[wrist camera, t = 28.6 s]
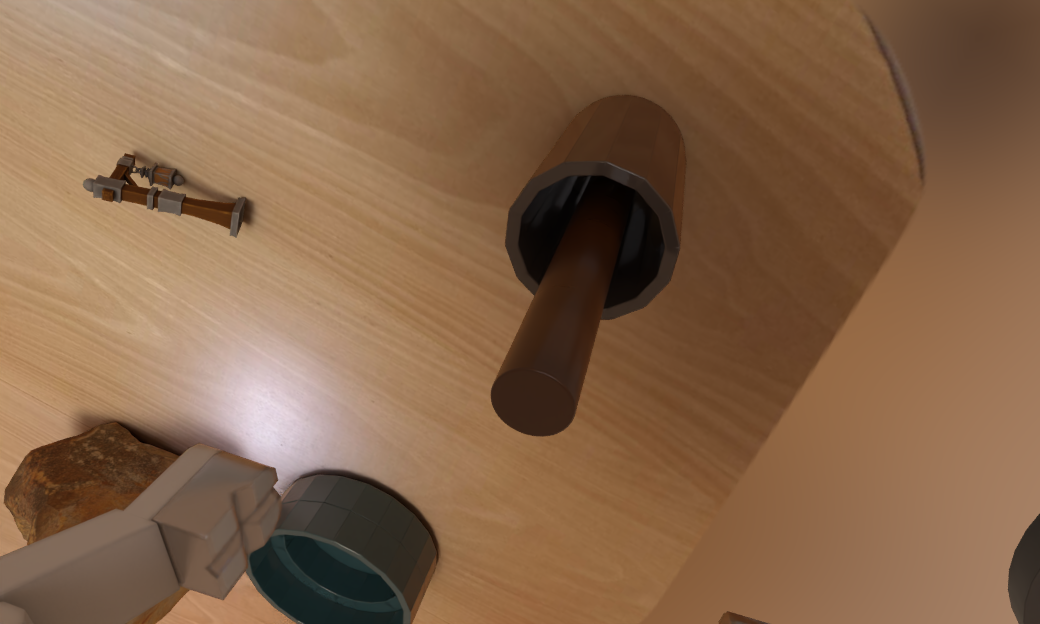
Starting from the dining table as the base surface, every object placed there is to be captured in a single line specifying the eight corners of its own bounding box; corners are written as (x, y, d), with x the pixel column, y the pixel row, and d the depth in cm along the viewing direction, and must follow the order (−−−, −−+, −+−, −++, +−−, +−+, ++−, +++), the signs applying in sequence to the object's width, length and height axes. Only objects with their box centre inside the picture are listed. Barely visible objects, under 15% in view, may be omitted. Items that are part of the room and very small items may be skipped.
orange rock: (107, 340, 48) (-117, 471, 36) (274, 464, 48) (108, 634, 36) (87, 475, 61) (-80, 602, 49) (216, 570, 62) (83, 719, 50)
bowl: (442, 499, 46) (411, 566, 41) (436, 600, 54) (409, 666, 49) (278, 449, 48) (229, 507, 43) (294, 554, 56) (255, 613, 51)
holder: (701, 106, 27) (700, 180, 18) (666, 229, 30) (653, 337, 22) (571, 82, 28) (516, 143, 19) (552, 204, 31) (498, 300, 23)
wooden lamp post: (108, 139, 35) (75, 176, 32) (254, 177, 38) (238, 215, 34) (109, 166, 36) (77, 205, 33) (250, 201, 39) (235, 240, 35)
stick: (646, 145, 28) (582, 382, 13) (637, 185, 29) (567, 446, 14) (604, 137, 28) (494, 359, 13) (596, 177, 29) (486, 424, 14)
